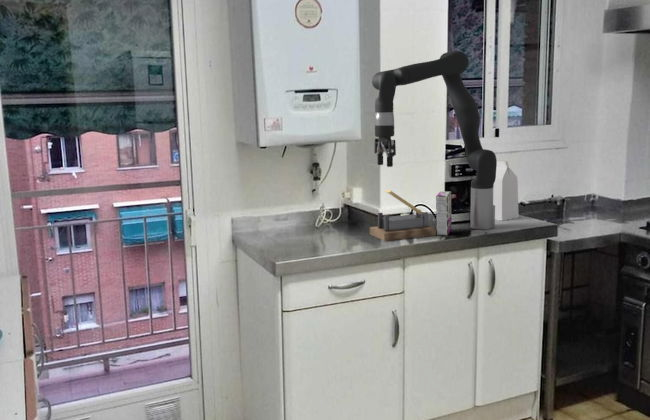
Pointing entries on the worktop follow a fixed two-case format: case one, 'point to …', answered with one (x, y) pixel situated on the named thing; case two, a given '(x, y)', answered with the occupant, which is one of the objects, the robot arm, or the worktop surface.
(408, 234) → the walnut board
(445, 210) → the candy bar box
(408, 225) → the block
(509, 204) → the milk
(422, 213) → the strip
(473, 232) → the worktop surface
